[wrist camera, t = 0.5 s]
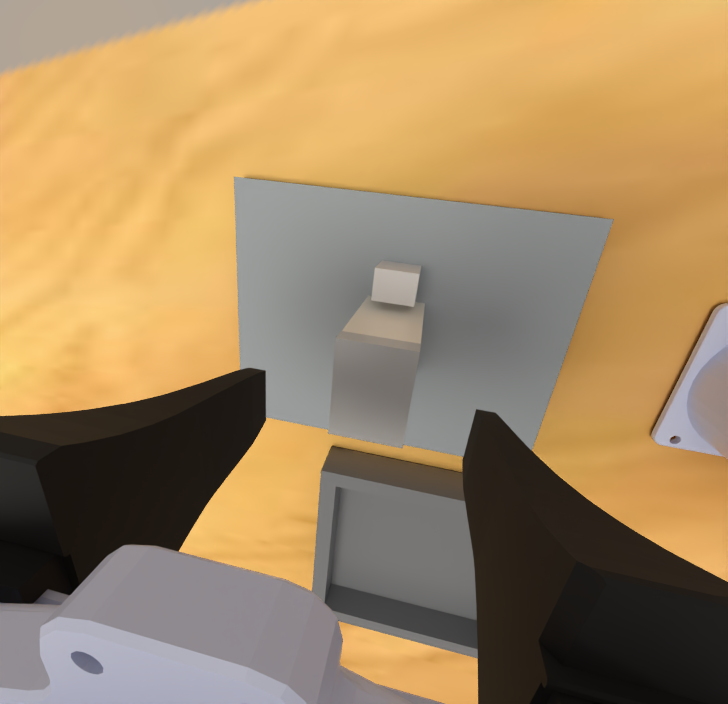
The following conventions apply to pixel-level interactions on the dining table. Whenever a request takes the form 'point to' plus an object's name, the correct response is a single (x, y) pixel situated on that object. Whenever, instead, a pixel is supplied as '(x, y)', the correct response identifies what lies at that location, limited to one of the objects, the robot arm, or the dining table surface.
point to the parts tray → (396, 550)
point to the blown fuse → (376, 372)
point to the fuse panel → (412, 299)
